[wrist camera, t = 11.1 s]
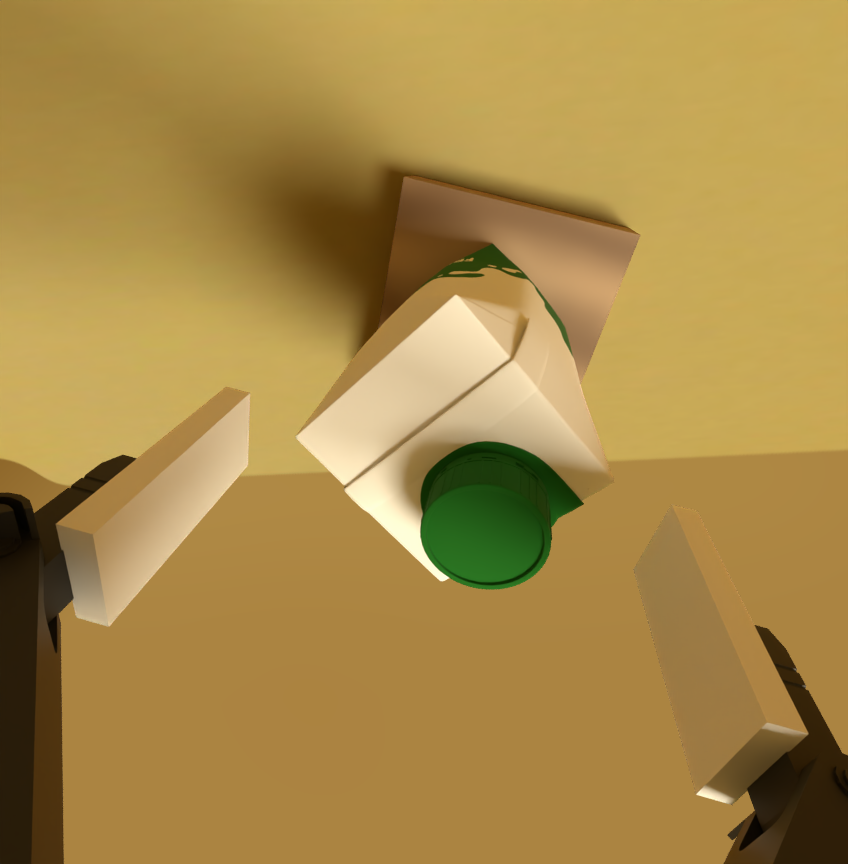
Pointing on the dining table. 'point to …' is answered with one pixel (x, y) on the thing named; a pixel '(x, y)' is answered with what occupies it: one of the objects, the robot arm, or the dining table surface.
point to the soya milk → (465, 425)
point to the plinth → (511, 252)
